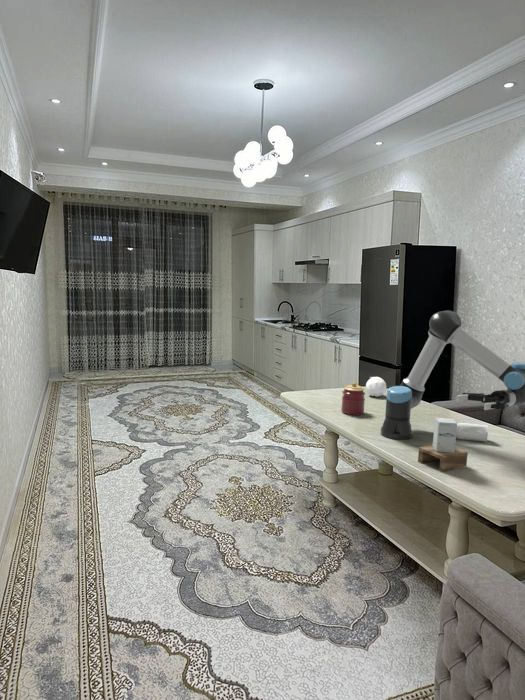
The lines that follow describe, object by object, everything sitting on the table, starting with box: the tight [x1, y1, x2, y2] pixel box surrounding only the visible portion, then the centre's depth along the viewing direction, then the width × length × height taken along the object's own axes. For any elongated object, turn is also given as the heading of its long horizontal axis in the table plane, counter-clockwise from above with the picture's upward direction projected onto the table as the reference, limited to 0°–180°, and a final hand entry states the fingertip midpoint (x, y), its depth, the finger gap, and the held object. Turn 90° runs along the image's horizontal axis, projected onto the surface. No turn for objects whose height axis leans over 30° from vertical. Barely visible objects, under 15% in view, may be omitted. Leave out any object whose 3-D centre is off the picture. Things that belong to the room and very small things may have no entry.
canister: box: [341, 382, 366, 416], centre depth 278 cm, size 13×13×18 cm
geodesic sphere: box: [365, 375, 387, 398], centre depth 322 cm, size 14×14×14 cm
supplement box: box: [432, 417, 457, 453], centre depth 200 cm, size 7×7×13 cm
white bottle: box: [456, 422, 489, 443], centre depth 235 cm, size 8×19×8 cm, turn 76°
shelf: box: [417, 444, 469, 473], centre depth 201 cm, size 13×14×6 cm
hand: (470, 402), depth 205 cm, fingers open, 13 cm apart
